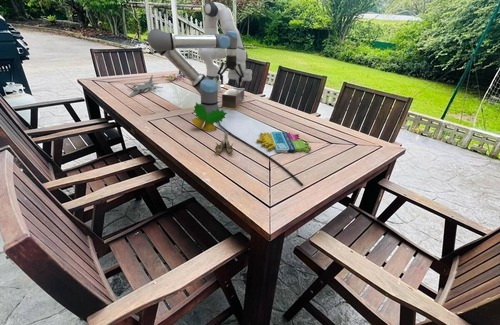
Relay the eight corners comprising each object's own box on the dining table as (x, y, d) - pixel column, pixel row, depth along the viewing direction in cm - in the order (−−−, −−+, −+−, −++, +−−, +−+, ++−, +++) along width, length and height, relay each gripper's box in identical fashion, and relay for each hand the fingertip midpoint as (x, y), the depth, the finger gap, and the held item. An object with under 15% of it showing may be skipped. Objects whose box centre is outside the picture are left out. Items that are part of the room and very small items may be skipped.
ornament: (218, 133, 171) (224, 110, 169) (221, 134, 163) (227, 111, 161) (186, 125, 162) (192, 101, 160) (189, 126, 155) (195, 101, 153)
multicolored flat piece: (313, 150, 142) (258, 149, 139) (312, 153, 143) (258, 152, 140) (301, 132, 164) (254, 130, 161) (301, 134, 165) (254, 133, 162)
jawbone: (234, 135, 144) (233, 125, 135) (233, 160, 138) (232, 151, 129) (217, 135, 144) (216, 125, 135) (216, 160, 138) (214, 150, 129)
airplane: (123, 86, 237) (121, 75, 232) (158, 84, 251) (157, 74, 246) (127, 99, 209) (125, 86, 204) (167, 96, 222) (166, 84, 217)
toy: (194, 71, 288) (181, 75, 262) (194, 77, 291) (182, 82, 265) (171, 68, 293) (156, 72, 267) (171, 75, 296) (157, 79, 270)
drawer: (234, 96, 231) (235, 86, 227) (245, 97, 229) (245, 87, 225) (226, 103, 211) (226, 92, 207) (238, 104, 209) (238, 93, 205)
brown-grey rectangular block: (229, 101, 219) (229, 88, 214) (241, 103, 217) (242, 90, 212) (221, 107, 203) (222, 94, 197) (235, 109, 201) (236, 95, 196)
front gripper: (249, 56, 187) (247, 86, 198) (216, 53, 191) (216, 82, 202) (247, 57, 181) (245, 88, 191) (213, 54, 185) (213, 84, 195)
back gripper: (253, 69, 216) (252, 85, 223) (229, 66, 219) (229, 83, 226) (251, 70, 211) (250, 87, 217) (227, 67, 214) (227, 84, 221)
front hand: (230, 85), depth 196 cm, fingers open, 13 cm apart
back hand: (239, 85), depth 222 cm, fingers closed
